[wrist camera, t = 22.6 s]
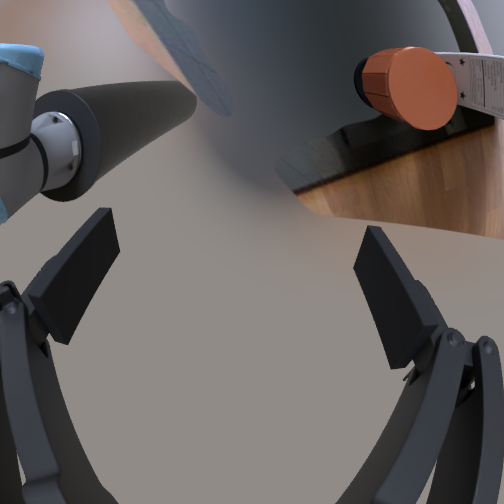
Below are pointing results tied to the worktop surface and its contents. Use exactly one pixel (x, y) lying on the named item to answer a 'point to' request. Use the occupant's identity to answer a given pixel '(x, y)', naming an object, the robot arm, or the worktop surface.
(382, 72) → the terracotta cap
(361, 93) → the ball stand
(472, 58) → the cereal box
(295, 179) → the worktop surface
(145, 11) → the worktop surface
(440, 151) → the worktop surface
